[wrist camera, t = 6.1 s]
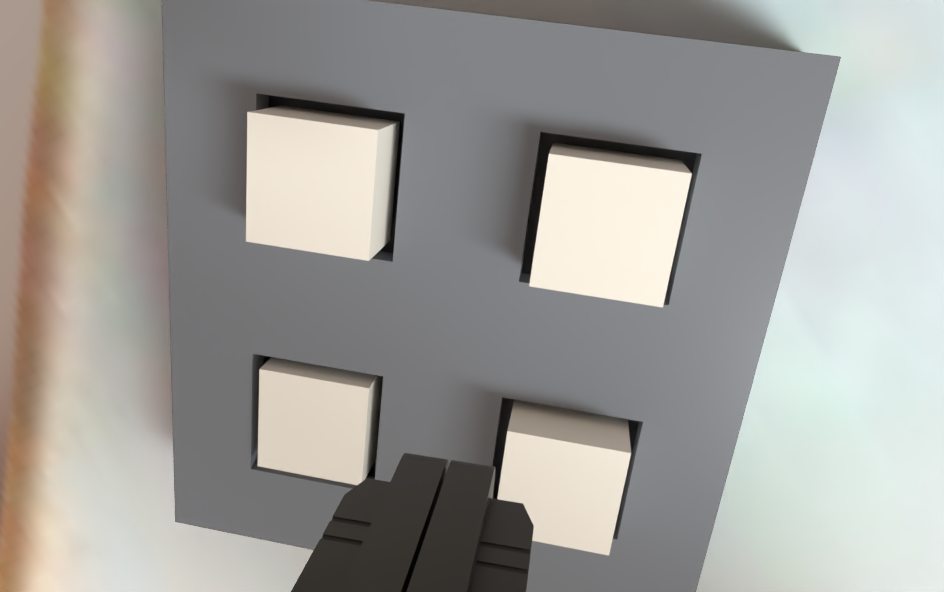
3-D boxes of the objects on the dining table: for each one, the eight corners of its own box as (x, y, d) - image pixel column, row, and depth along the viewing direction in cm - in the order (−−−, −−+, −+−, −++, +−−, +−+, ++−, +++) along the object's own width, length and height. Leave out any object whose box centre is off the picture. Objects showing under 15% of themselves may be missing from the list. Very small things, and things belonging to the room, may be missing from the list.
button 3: (681, 160, 23) (691, 173, 20) (655, 281, 24) (662, 307, 22) (553, 142, 23) (548, 153, 21) (534, 262, 25) (529, 286, 22)
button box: (806, 55, 23) (840, 56, 20) (676, 562, 30) (686, 625, 27) (216, -16, 26) (161, -25, 22) (217, 473, 32) (175, 521, 29)
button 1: (627, 414, 26) (631, 453, 23) (607, 510, 27) (609, 555, 25) (515, 395, 26) (507, 430, 24) (500, 490, 28) (492, 532, 25)
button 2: (388, 358, 28) (368, 388, 25) (380, 449, 29) (361, 486, 27) (287, 341, 28) (259, 369, 26) (284, 431, 30) (257, 466, 27)
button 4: (399, 121, 24) (378, 130, 21) (390, 240, 25) (368, 261, 23) (282, 105, 24) (247, 112, 22) (278, 222, 26) (246, 241, 23)
